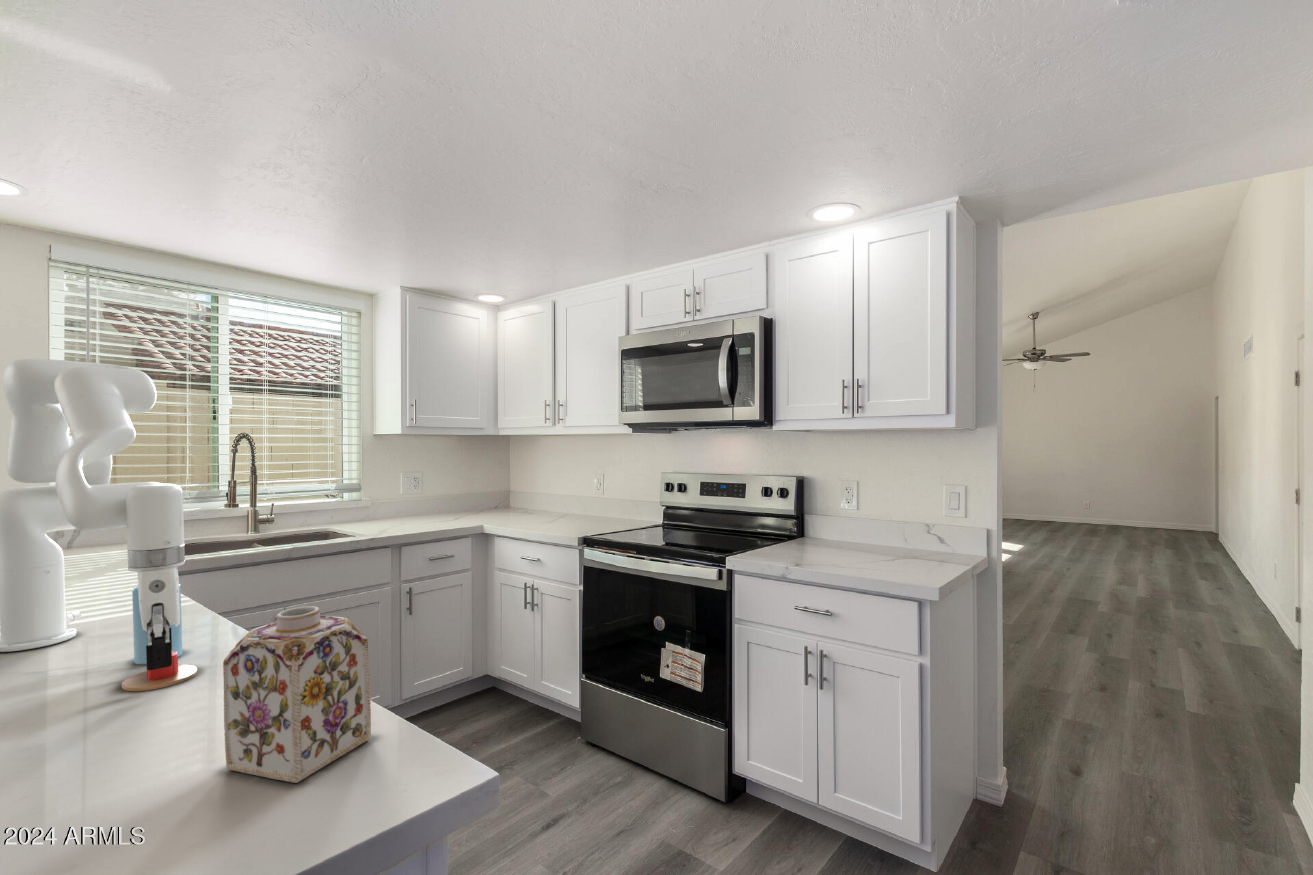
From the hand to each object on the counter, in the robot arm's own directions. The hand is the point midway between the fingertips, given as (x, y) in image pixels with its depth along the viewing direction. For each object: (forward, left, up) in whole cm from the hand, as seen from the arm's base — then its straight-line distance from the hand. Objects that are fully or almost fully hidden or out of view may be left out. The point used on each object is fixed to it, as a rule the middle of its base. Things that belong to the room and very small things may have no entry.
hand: (160, 659), depth 107 cm
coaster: (0, 0, -3) cm, 3 cm away
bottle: (-12, -7, -3) cm, 14 cm away
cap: (0, 0, -3) cm, 3 cm away
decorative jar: (+32, +35, -3) cm, 48 cm away
